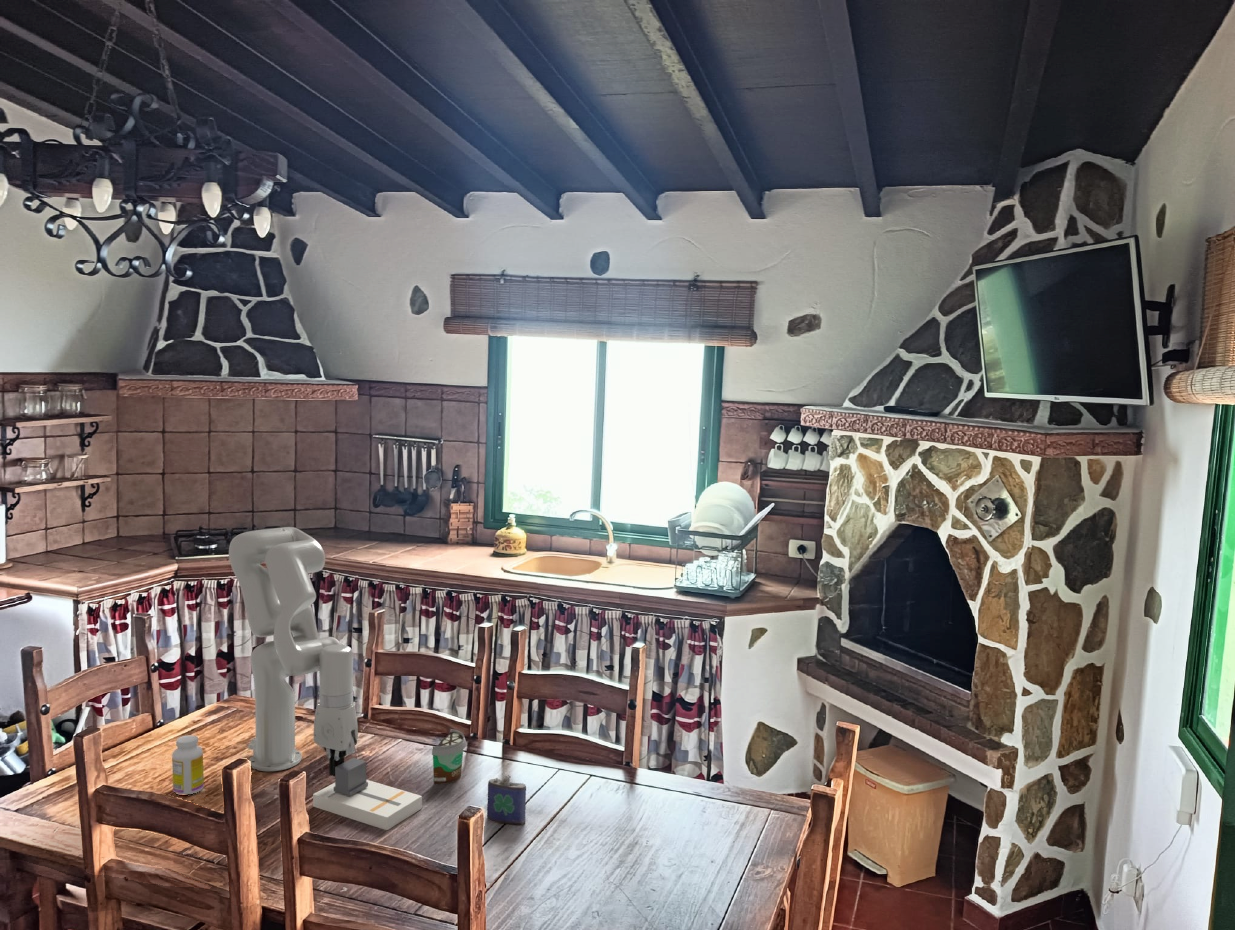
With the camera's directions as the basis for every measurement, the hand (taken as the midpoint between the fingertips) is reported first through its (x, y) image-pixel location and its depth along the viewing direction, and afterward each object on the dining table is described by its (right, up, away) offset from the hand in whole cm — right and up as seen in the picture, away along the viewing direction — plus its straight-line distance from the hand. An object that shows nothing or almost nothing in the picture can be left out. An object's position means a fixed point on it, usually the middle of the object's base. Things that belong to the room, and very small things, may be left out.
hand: (336, 773), depth 220 cm
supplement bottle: (-36, -5, +2) cm, 36 cm away
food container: (+25, -6, +14) cm, 29 cm away
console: (+8, -7, -4) cm, 11 cm away
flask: (+41, -8, -8) cm, 42 cm away
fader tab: (+4, -3, -2) cm, 5 cm away
